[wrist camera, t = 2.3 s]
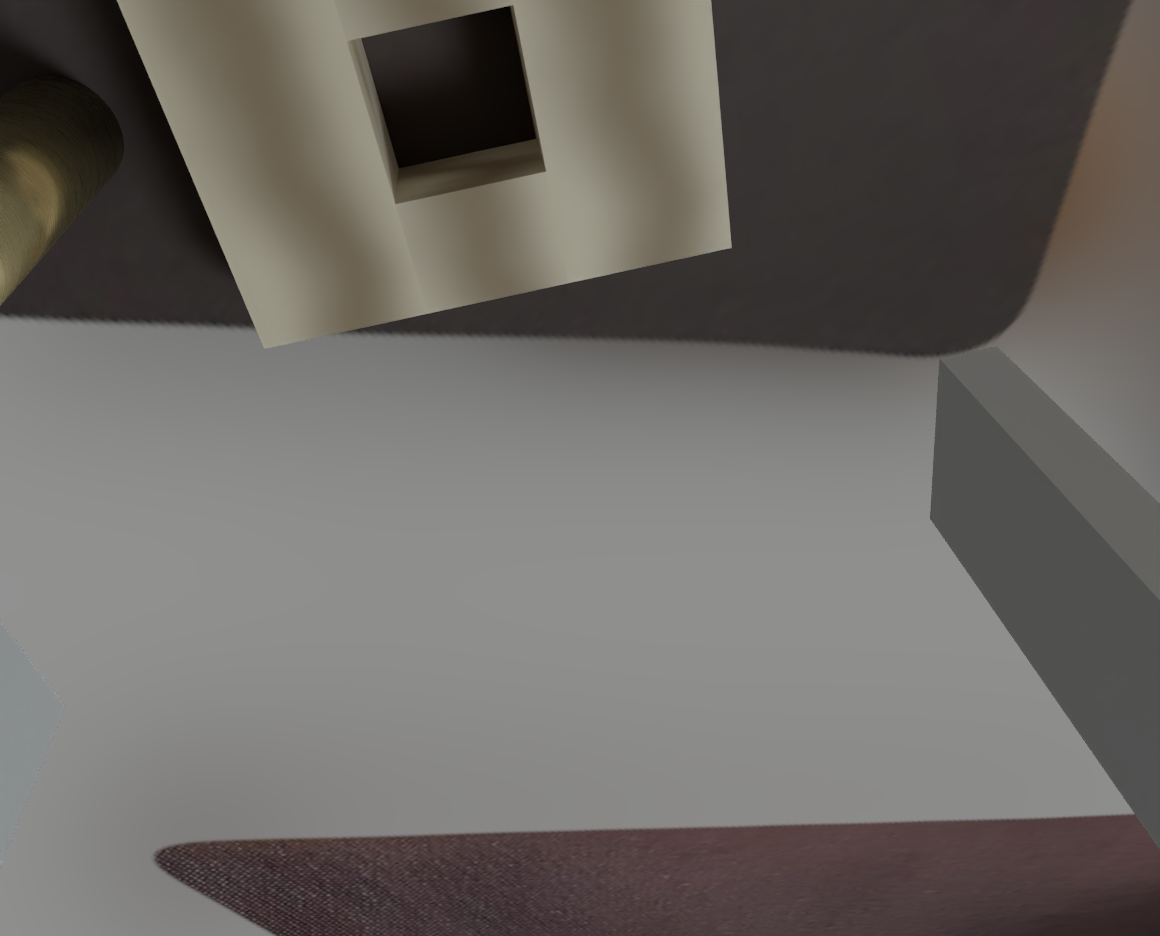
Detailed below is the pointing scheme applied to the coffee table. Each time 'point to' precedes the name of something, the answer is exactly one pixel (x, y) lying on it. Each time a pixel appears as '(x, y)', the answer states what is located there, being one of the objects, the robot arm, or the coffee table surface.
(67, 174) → the round bit
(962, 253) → the coffee table surface
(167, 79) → the socket block
